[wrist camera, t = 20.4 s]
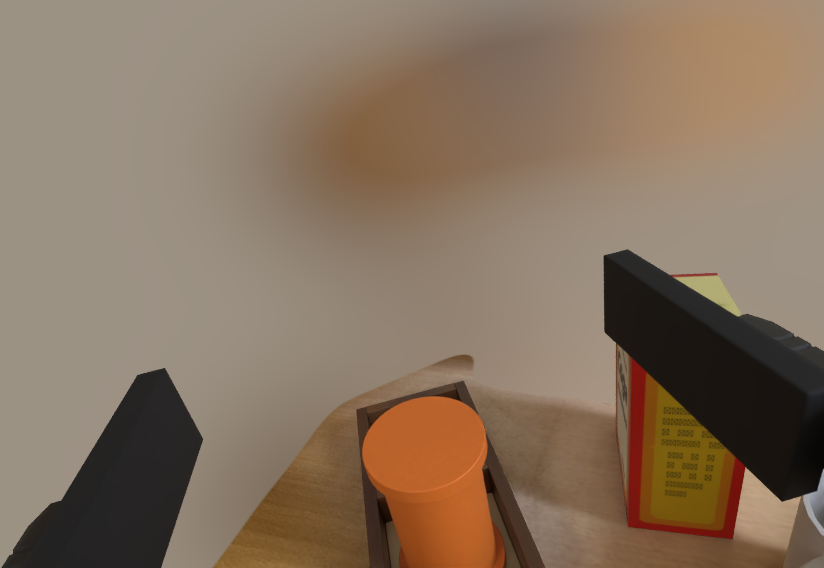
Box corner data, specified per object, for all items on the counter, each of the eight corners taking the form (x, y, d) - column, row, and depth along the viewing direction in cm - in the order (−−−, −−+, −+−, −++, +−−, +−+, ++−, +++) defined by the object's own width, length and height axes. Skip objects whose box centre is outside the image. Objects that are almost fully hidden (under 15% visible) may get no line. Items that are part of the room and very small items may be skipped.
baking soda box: (732, 539, 32) (766, 348, 25) (628, 526, 34) (631, 348, 27) (698, 435, 40) (717, 268, 33) (615, 430, 42) (616, 272, 35)
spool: (410, 632, 30) (366, 508, 25) (395, 527, 37) (358, 413, 32) (523, 598, 31) (503, 469, 25) (487, 501, 37) (465, 384, 32)
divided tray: (390, 676, 29) (376, 645, 27) (364, 435, 48) (356, 409, 46) (559, 624, 30) (555, 591, 28) (468, 407, 48) (463, 380, 47)
